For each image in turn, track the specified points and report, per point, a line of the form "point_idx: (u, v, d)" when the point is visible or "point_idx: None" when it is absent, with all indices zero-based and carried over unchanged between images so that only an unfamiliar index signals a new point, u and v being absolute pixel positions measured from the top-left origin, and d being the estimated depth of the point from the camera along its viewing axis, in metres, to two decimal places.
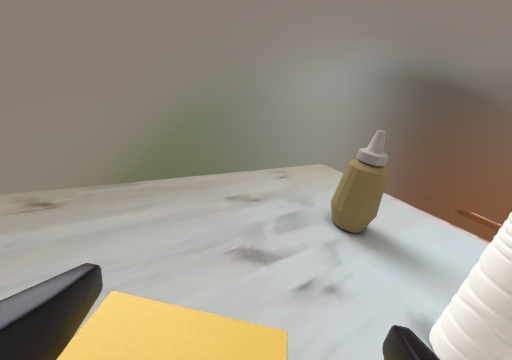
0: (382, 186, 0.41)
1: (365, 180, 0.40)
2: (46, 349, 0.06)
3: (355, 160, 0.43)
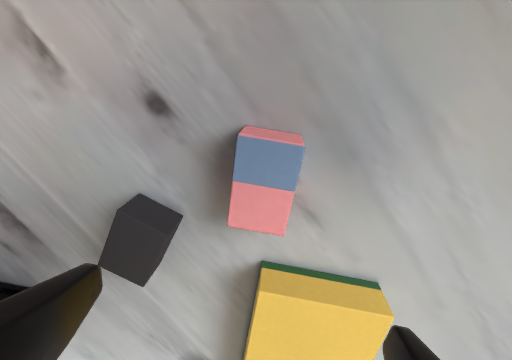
0: None
1: None
2: (46, 349, 0.06)
3: None
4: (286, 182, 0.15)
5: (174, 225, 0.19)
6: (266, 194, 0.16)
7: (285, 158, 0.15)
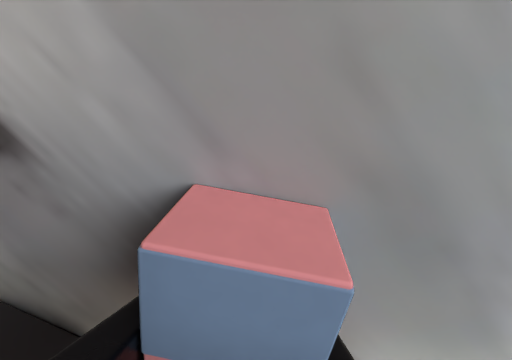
0: None
1: None
2: None
3: None
4: None
5: None
6: None
7: (290, 317, 0.05)
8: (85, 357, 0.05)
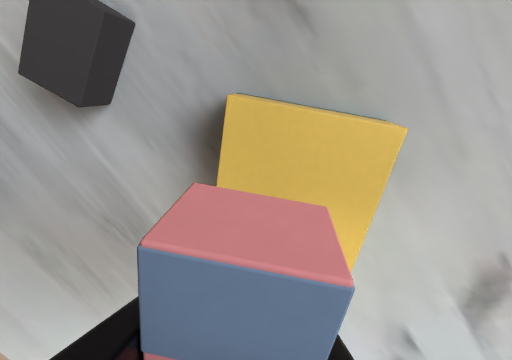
0: None
1: None
2: None
3: None
4: None
5: (118, 16, 0.14)
6: None
7: (291, 315, 0.05)
8: (84, 357, 0.05)
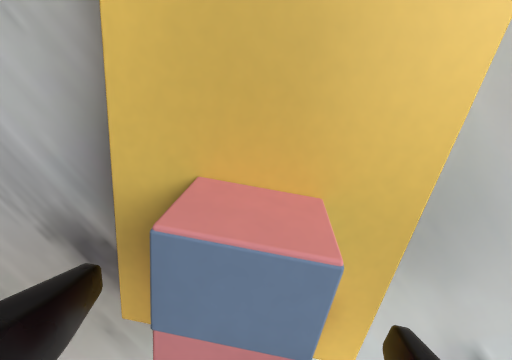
0: None
1: None
2: (46, 349, 0.06)
3: None
4: (289, 344, 0.06)
5: None
6: None
7: (287, 293, 0.05)
8: None
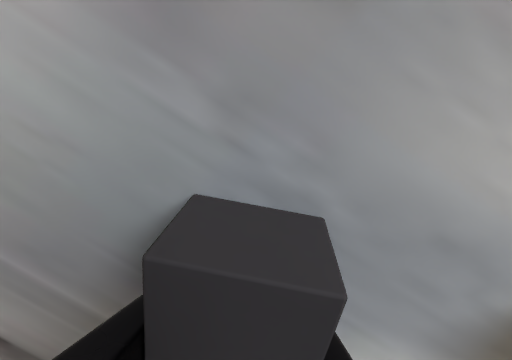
0: None
1: None
2: None
3: None
4: None
5: (331, 251, 0.06)
6: None
7: None
8: (87, 357, 0.05)
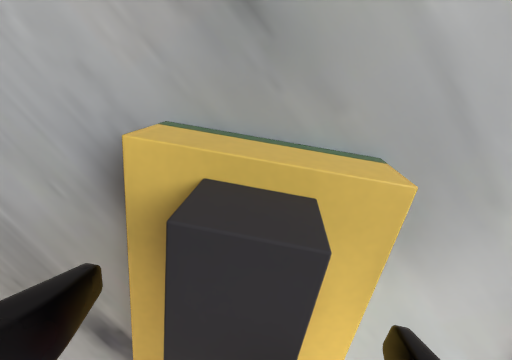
0: None
1: None
2: (46, 349, 0.06)
3: None
4: None
5: (320, 222, 0.07)
6: None
7: None
8: None
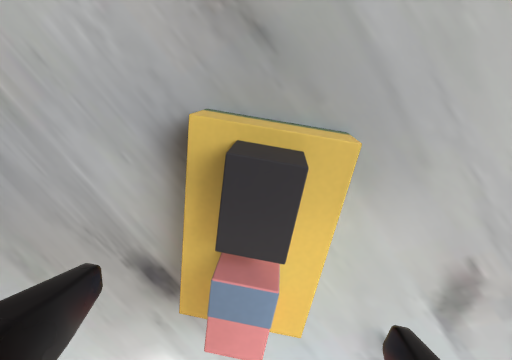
0: None
1: None
2: (46, 349, 0.06)
3: None
4: (261, 321, 0.15)
5: (304, 159, 0.13)
6: (242, 329, 0.16)
7: (260, 302, 0.15)
8: None
